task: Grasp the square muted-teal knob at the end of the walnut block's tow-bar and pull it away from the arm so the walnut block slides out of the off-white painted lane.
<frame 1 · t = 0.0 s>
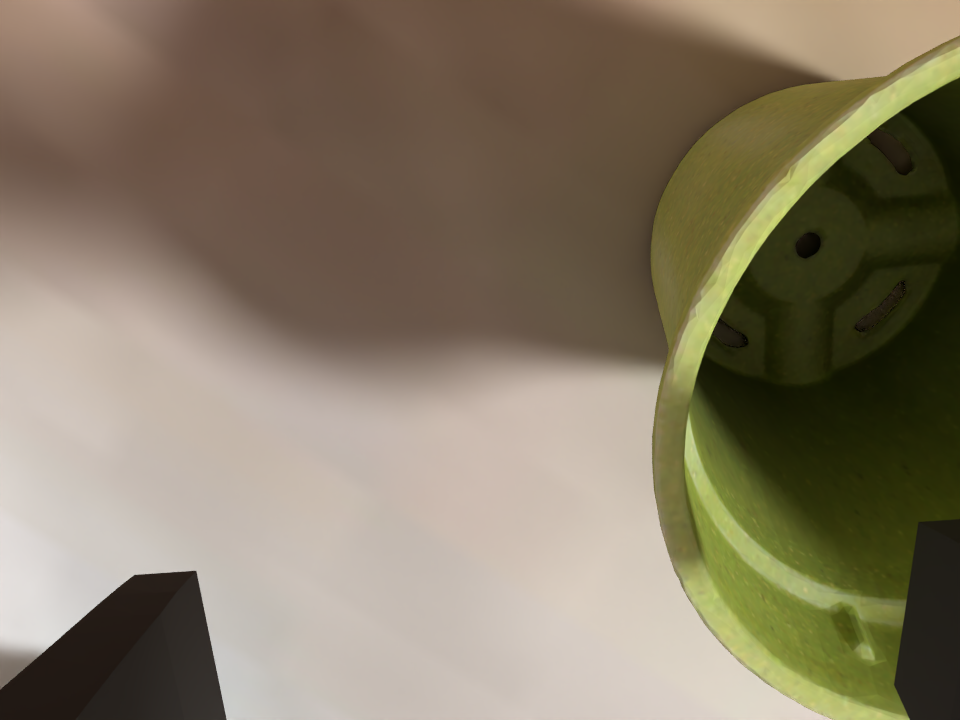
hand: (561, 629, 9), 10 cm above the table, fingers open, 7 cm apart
plant pot: (790, 240, 18), on the table
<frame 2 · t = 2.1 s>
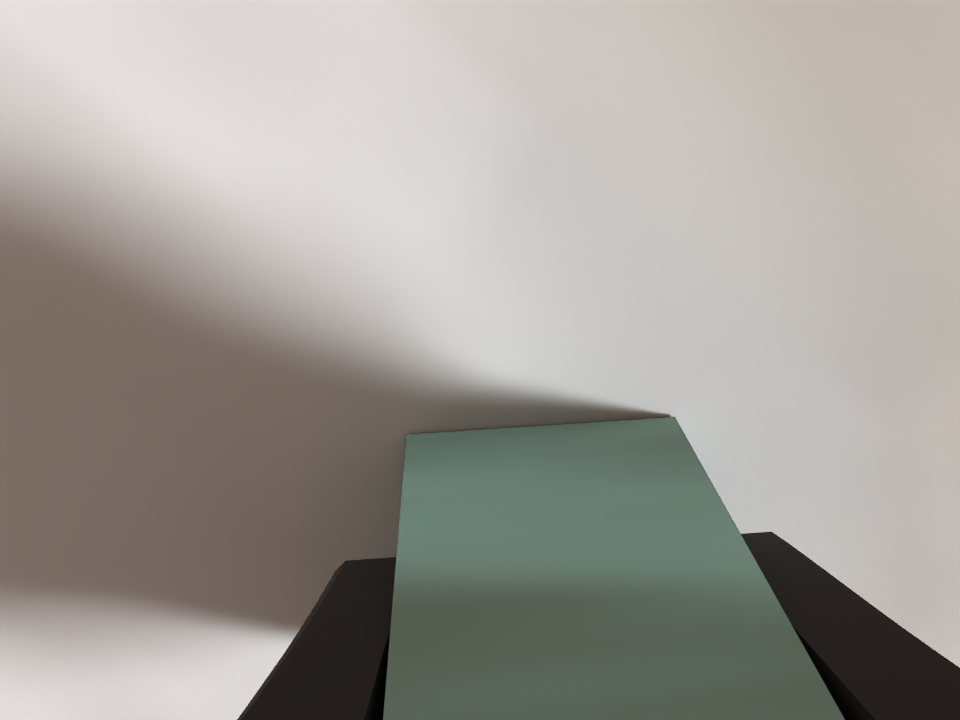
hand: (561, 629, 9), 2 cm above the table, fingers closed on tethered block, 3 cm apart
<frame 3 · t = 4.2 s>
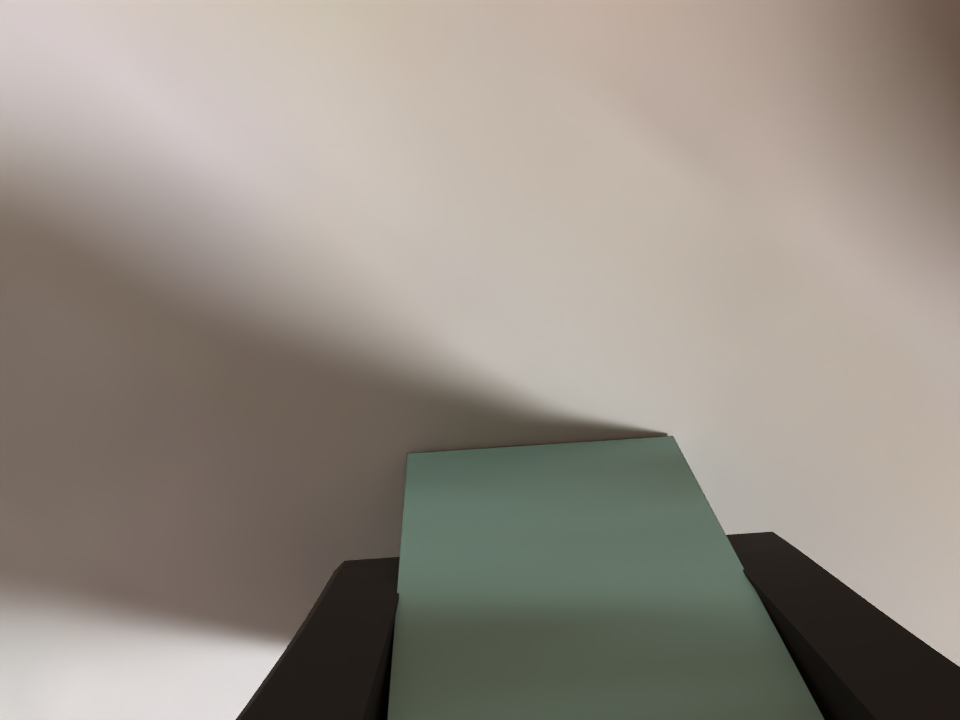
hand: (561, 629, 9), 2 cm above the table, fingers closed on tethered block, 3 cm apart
when the fingers open (2 cm above the table, at t = 6.1 s): tethered block stays where it is, on the table.
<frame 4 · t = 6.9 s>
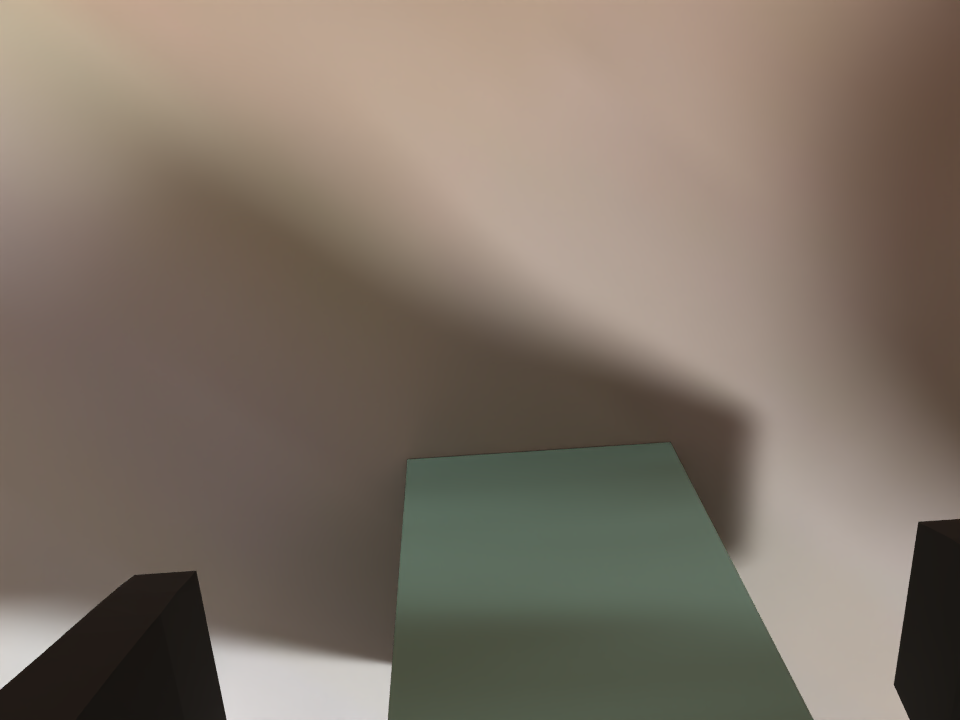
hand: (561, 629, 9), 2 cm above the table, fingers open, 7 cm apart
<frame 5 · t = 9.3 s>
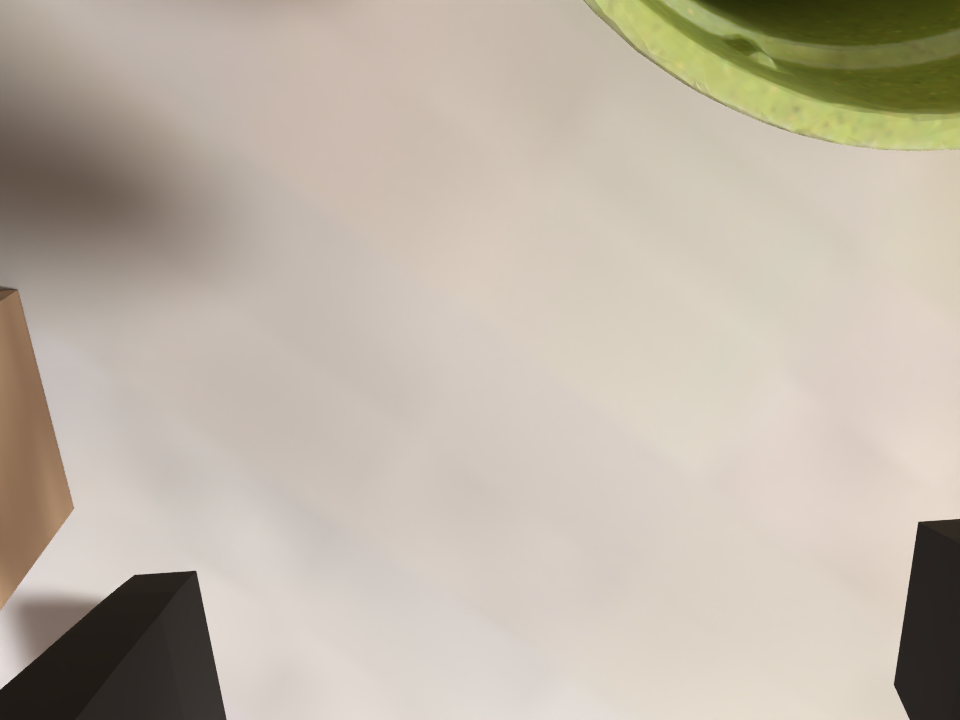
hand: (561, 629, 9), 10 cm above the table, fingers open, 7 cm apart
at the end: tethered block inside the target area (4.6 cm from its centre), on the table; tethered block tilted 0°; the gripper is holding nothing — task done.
